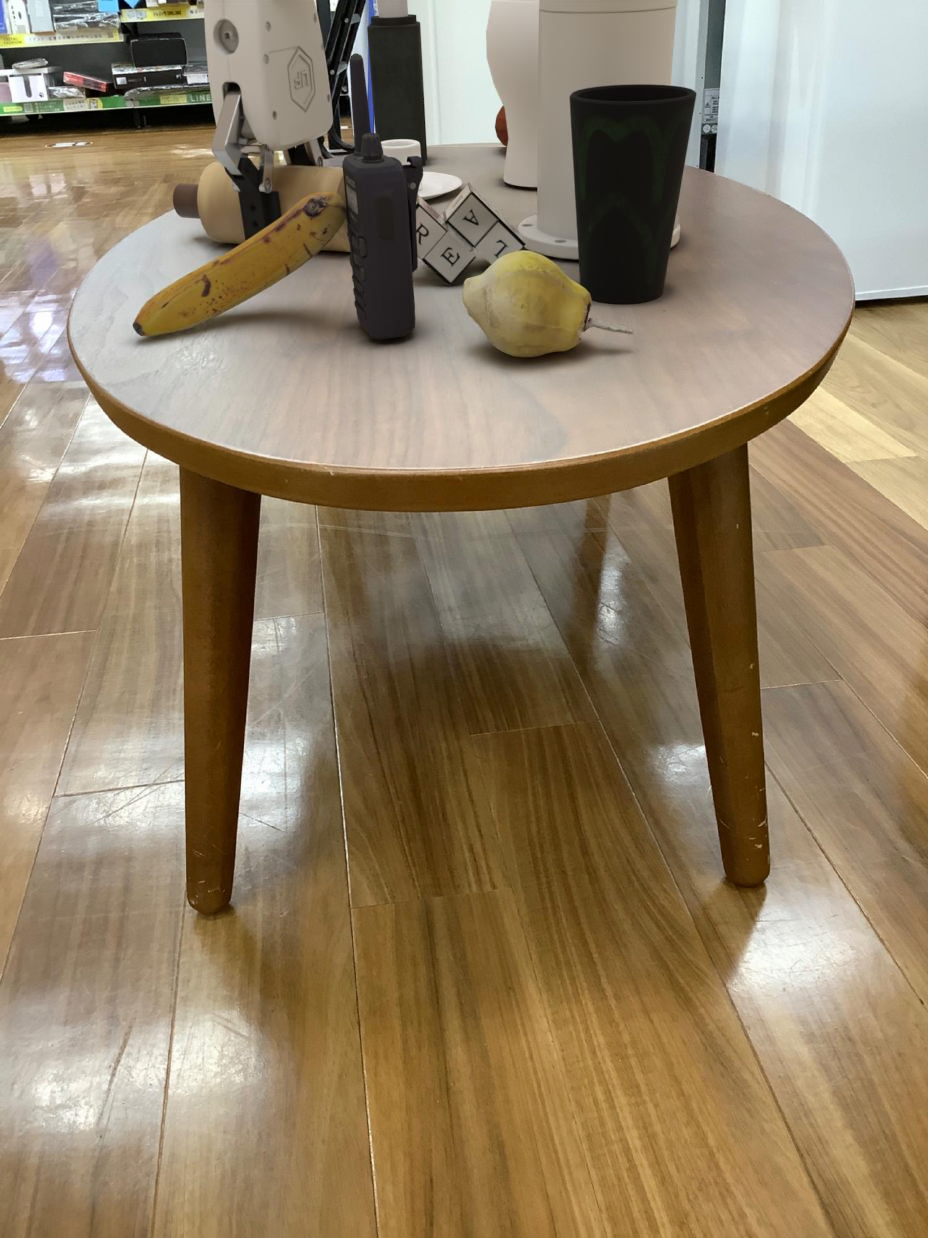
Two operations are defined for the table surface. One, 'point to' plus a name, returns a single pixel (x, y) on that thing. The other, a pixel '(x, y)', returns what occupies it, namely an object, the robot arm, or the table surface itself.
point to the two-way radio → (380, 223)
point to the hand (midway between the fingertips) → (287, 232)
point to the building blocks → (463, 234)
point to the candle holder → (431, 181)
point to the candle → (397, 74)
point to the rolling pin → (222, 205)
